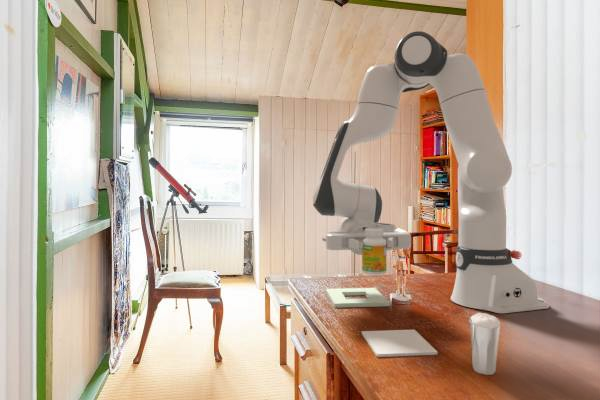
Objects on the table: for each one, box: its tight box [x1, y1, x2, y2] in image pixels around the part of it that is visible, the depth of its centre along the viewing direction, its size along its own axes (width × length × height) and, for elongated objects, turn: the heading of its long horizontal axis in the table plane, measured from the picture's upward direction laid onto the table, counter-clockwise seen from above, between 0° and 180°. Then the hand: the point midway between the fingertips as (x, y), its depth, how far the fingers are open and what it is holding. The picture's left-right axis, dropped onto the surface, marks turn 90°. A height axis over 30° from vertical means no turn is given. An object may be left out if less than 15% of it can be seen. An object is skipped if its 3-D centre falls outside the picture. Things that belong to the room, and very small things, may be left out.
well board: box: [325, 287, 391, 309], centre depth 106 cm, size 14×14×1 cm
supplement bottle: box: [361, 228, 387, 276], centre depth 90 cm, size 5×5×10 cm
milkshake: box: [465, 309, 501, 376], centre depth 65 cm, size 4×5×10 cm
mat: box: [361, 329, 438, 358], centre depth 76 cm, size 11×11×1 cm
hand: (375, 245), depth 89 cm, fingers closed on supplement bottle, 5 cm apart
